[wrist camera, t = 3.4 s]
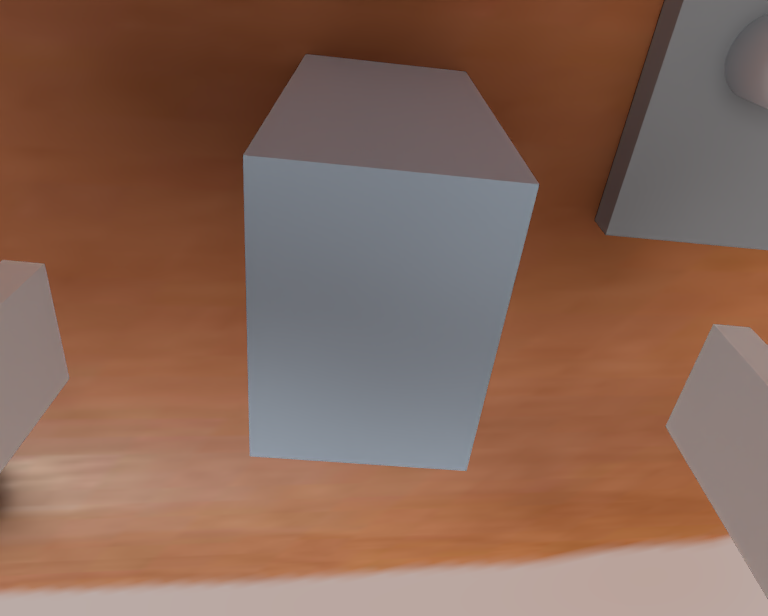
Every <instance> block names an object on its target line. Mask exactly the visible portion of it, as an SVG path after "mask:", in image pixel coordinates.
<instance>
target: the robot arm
mask: <svg viewBox="0 0 768 616" xmlns="http://www.w3.org/2000/svg"><path fill="white" fill-rule="evenodd" d="M68 380H69V374H68V369H67V365H66V360H65V356H64V351H63V346H62V342H61V337H60V333H59V328H58V323H57V319H56V314H55V309H54V305H53V300H52V296H51V291H50V286H49V282H48V277H47V273H46V268H45V264H43V263H32V262H20V261H9V260H2V261H1V262H0V473H1V471H2V470H3V469H4V467H5V466H6V465H7V463H8V462H9V460H10V459H11V458H12V456H13V455H14V454H15V452H16V451H17V450H18V448H19V447H20V445H21V444H22V443H23V441H24V440H25V439H26V437H27V436H28V434H29V433H30V432H31V430H32V429H33V428H34V426H35V425H36V424H37V422H38V421H39V419H40V418H41V417H42V415H43V414H44V413H45V411H46V410H47V409H48V407H49V406H50V404H51V403H52V402H53V400H54V399H55V398H56V396H57V395H58V394H59V392H60V391H61V389H62V388H63V387H64V385H65V384H66V383H67V381H68ZM666 428H667V430H668V431H669V433H670V435H671V437H672V438H673V440H674V442H675V443H676V445H677V447H678V448H679V450H680V452H681V453H682V455H683V457H684V459H685V460H686V462H687V464H688V465H689V467H690V469H691V470H692V472H693V474H694V475H695V477H696V479H697V481H698V482H699V484H700V486H701V487H702V489H703V491H704V492H705V494H706V496H707V497H708V499H709V501H710V503H711V504H712V506H713V508H714V509H715V511H716V513H717V514H718V516H719V518H720V519H721V521H722V523H723V525H724V526H725V528H726V530H727V531H728V533H729V535H730V536H731V538H732V540H733V541H734V543H735V545H736V547H737V548H738V550H739V551H740V553H741V555H742V556H743V558H744V560H745V562H746V563H747V565H748V567H749V569H750V570H751V572H752V574H753V575H754V577H755V579H756V580H757V582H758V584H759V585H760V587H761V589H762V590H763V592H764V594H765V596H766V597H767V599H768V345H767V344H766V343H765V342H764V341H763V340H762V339H761V338H760V337H759V336H758V335H757V334H756V333H755V332H754V331H753V330H752V329H751V328H750V327H740V326H729V325H718V324H713V326H712V328H711V330H710V332H709V334H708V337H707V339H706V341H705V343H704V345H703V347H702V349H701V352H700V354H699V356H698V358H697V360H696V362H695V364H694V367H693V369H692V371H691V373H690V375H689V377H688V379H687V381H686V384H685V386H684V388H683V390H682V392H681V394H680V396H679V399H678V401H677V403H676V405H675V407H674V409H673V411H672V413H671V416H670V418H669V420H668V422H667V424H666Z"/></svg>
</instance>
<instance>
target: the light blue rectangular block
mask: <svg viewBox="0 0 768 616" xmlns="http://www.w3.org/2000/svg"><path fill="white" fill-rule="evenodd" d="M243 176H244V220H245V264H246V309H247V353H248V397H249V442H250V456H254V457H269V458H283V459H298V460H313V461H328V462H343V463H358V464H372V465H387V466H402V467H417V468H432V469H447V470H461V471H466V470H467V466H468V462H469V458H470V454H471V450H472V447H473V443H474V439H475V435H476V431H477V427H478V423H479V419H480V415H481V411H482V407H483V403H484V399H485V395H486V392H487V388H488V384H489V380H490V376H491V372H492V368H493V364H494V360H495V356H496V352H497V348H498V344H499V340H500V337H501V333H502V329H503V325H504V321H505V317H506V313H507V309H508V305H509V301H510V297H511V293H512V289H513V285H514V282H515V278H516V274H517V270H518V266H519V262H520V258H521V254H522V250H523V246H524V242H525V238H526V234H527V230H528V227H529V223H530V219H531V215H532V211H533V207H534V203H535V199H536V195H537V191H538V187H539V183H538V182H537V180H536V179H535V177H534V176H533V174H532V172H531V171H530V169H529V168H528V166H527V165H526V163H525V162H524V160H523V159H522V157H521V156H520V154H519V153H518V151H517V150H516V148H515V146H514V145H513V143H512V142H511V140H510V139H509V137H508V136H507V134H506V133H505V131H504V130H503V128H502V127H501V125H500V123H499V122H498V120H497V119H496V117H495V116H494V114H493V113H492V111H491V110H490V108H489V107H488V105H487V104H486V102H485V100H484V99H483V97H482V96H481V94H480V93H479V91H478V90H477V88H476V87H475V85H474V84H473V82H472V81H471V79H470V77H469V76H468V74H467V73H466V72H465V71H456V70H447V69H438V68H429V67H420V66H411V65H402V64H392V63H383V62H374V61H365V60H356V59H347V58H338V57H329V56H320V55H311V54H305V56H304V58H303V59H302V61H301V63H300V64H299V66H298V67H297V69H296V71H295V72H294V74H293V75H292V77H291V79H290V80H289V82H288V83H287V85H286V87H285V88H284V90H283V92H282V93H281V95H280V96H279V98H278V100H277V101H276V103H275V104H274V106H273V108H272V109H271V111H270V112H269V114H268V116H267V117H266V119H265V121H264V122H263V124H262V125H261V127H260V129H259V130H258V132H257V133H256V135H255V137H254V138H253V140H252V141H251V143H250V145H249V146H248V148H247V150H246V151H245V153H244V154H243Z"/></svg>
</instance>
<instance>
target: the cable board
mask: <svg viewBox="0 0 768 616" xmlns="http://www.w3.org/2000/svg"><path fill="white" fill-rule="evenodd" d="M595 222H596V223H597V224H598V226H599V227H600V228H601V230H602V231H603V232H604V233H605V235H612V236H623V237H633V238H644V239H655V240H665V241H676V242H687V243H697V244H708V245H718V246H729V247H740V248H750V249H761V250H768V0H665V1H664V4H663V7H662V10H661V13H660V17H659V20H658V23H657V26H656V29H655V32H654V35H653V39H652V42H651V45H650V48H649V51H648V54H647V58H646V61H645V64H644V67H643V70H642V73H641V76H640V80H639V83H638V86H637V89H636V92H635V95H634V98H633V102H632V105H631V108H630V111H629V114H628V117H627V120H626V124H625V127H624V130H623V133H622V136H621V139H620V143H619V146H618V149H617V152H616V155H615V158H614V161H613V165H612V168H611V171H610V174H609V177H608V180H607V183H606V187H605V190H604V193H603V196H602V199H601V202H600V206H599V209H598V212H597V215H596V218H595Z"/></svg>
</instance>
